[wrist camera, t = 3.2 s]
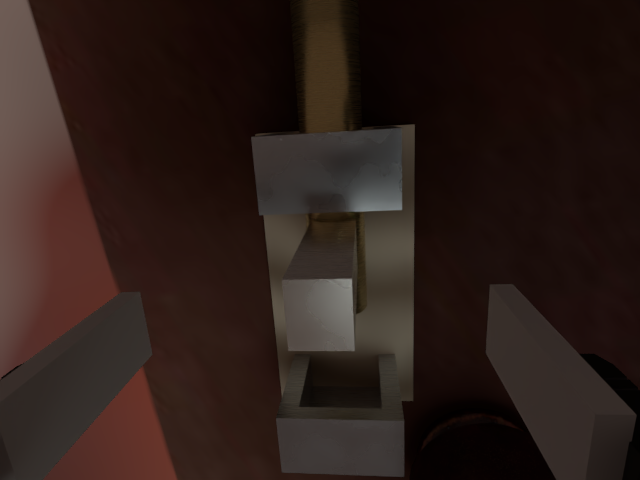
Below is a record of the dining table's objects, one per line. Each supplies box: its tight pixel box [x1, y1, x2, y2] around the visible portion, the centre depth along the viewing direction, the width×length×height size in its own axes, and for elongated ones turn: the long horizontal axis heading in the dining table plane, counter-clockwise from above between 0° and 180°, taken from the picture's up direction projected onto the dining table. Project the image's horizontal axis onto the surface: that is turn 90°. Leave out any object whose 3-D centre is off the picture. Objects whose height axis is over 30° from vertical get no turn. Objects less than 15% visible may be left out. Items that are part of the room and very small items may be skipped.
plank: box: [255, 124, 415, 401], centre depth 29 cm, size 20×10×1 cm, turn 4°
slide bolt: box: [282, 0, 367, 351], centre depth 20 cm, size 18×4×12 cm, turn 4°
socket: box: [276, 354, 404, 477], centre depth 27 cm, size 4×7×7 cm, turn 94°
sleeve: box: [251, 126, 402, 215], centre depth 23 cm, size 4×7×6 cm, turn 94°
